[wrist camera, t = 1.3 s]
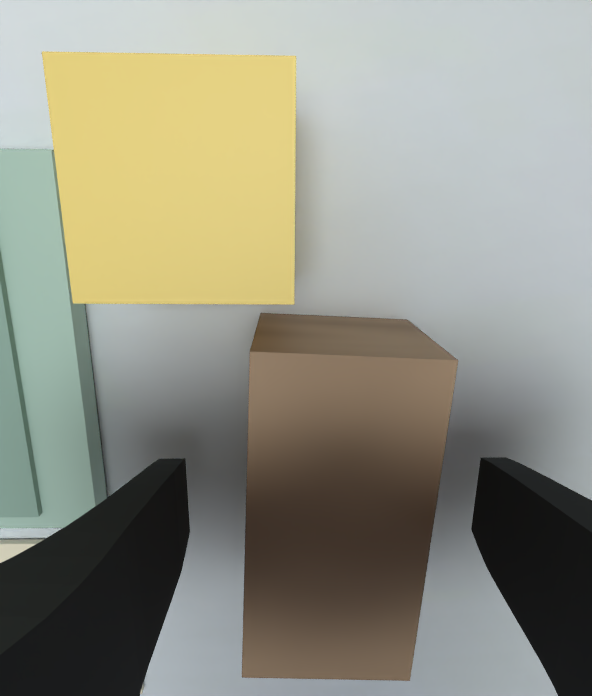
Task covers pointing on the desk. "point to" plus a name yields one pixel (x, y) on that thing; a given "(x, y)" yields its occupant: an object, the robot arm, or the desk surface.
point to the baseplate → (42, 358)
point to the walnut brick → (340, 494)
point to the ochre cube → (175, 175)
